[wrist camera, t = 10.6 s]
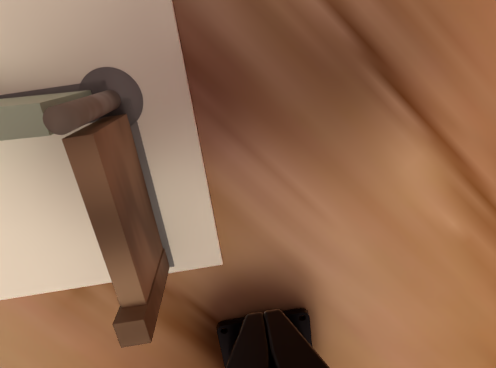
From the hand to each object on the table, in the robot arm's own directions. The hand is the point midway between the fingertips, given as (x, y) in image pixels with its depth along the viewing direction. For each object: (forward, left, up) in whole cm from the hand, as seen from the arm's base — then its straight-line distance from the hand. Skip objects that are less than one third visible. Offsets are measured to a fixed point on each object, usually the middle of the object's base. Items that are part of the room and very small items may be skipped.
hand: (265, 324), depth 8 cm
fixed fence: (0, +6, -12) cm, 13 cm away
